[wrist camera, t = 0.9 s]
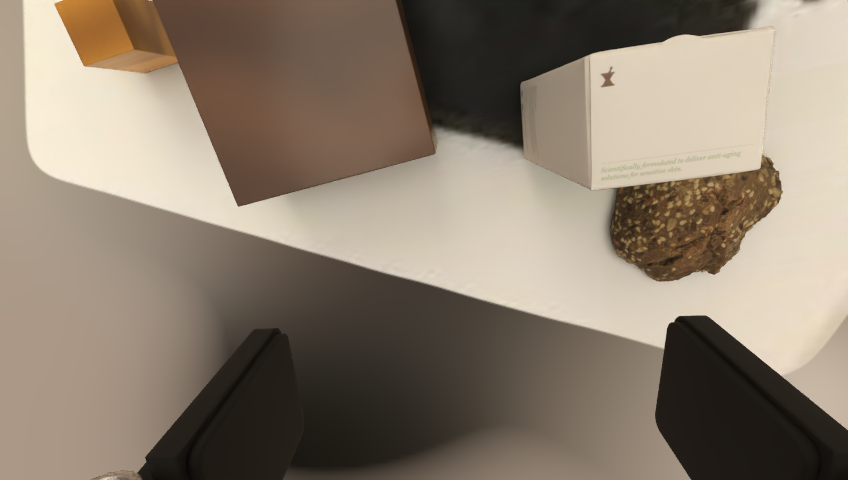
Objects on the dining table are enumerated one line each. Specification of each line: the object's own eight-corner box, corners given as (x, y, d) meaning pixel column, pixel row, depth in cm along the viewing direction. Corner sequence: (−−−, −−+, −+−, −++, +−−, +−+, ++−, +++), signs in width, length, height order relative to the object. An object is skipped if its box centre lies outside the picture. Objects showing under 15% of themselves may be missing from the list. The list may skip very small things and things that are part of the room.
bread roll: (659, 107, 33) (695, 108, 28) (790, 169, 34) (846, 179, 29) (578, 246, 37) (598, 266, 32) (698, 297, 37) (734, 324, 33)
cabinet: (184, -63, 31) (104, -116, 23) (368, -131, 29) (342, -210, 22) (279, 187, 36) (237, 206, 29) (437, 144, 34) (435, 153, 27)
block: (122, 21, 33) (53, 3, 27) (166, 6, 32) (105, -16, 26) (144, 73, 34) (83, 66, 28) (187, 59, 33) (134, 49, 28)
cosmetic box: (522, 159, 34) (580, 198, 20) (517, 75, 32) (578, 49, 18) (625, 146, 34) (765, 177, 19) (626, 60, 32) (785, 19, 17)
